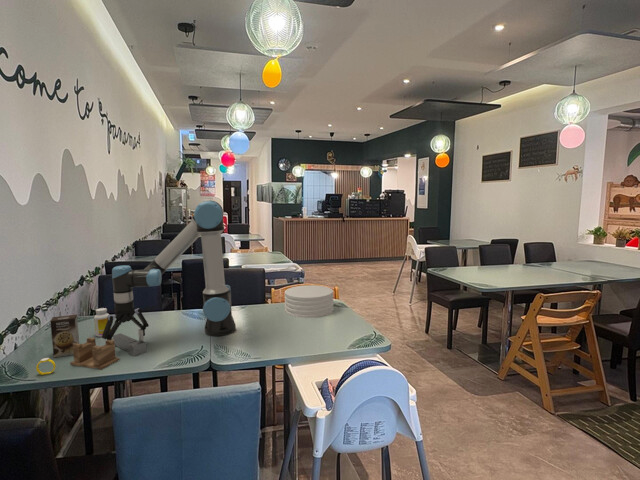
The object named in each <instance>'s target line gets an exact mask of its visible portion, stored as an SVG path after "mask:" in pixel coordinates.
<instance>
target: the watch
mask: <svg viewBox="0 0 640 480" xmlns="http://www.w3.org/2000/svg"><path fill="white" fill-rule="evenodd" d="M47 362H49V363H51V364H52V366H53V368H52V369H51V371H46V372H44V371H41V370H40V367H39V365H40V364H41V363H47ZM56 367H57V366H56V363H55V361H54V360H52V359H51V358H50V357H45V358H44V357H43V358H41V359H40V361H39V362H37V364H36V367H35V368H36V372H37V373H38V374H39V375H42V376H43V375H51V374H52V373H53V372H54V371H55V369H56Z"/></svg>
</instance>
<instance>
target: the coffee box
mask: <svg viewBox="0 0 640 480" xmlns="http://www.w3.org/2000/svg"><path fill="white" fill-rule="evenodd" d="M49 324H50V332H51V342H52V355H53V358H60V357H65V356H74V354H73V344H75V343H79V344H80V336H79V335H80V334H79V321H78V314H71V315H61V316H53V317H52V318H51V319H50V323H49Z"/></svg>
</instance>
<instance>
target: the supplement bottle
mask: <svg viewBox="0 0 640 480" xmlns="http://www.w3.org/2000/svg"><path fill="white" fill-rule="evenodd" d="M95 313H96V314H95V315H94V317H93V321H94V331H95V336H96V337H101V338H102V335H103V332H104V329H105V326H106V323H107V321H108V315H110V314H109V313H108V309H107V308H106V307H105V308H104V307H100V308H97V309H95ZM110 330H111V329H110Z"/></svg>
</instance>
